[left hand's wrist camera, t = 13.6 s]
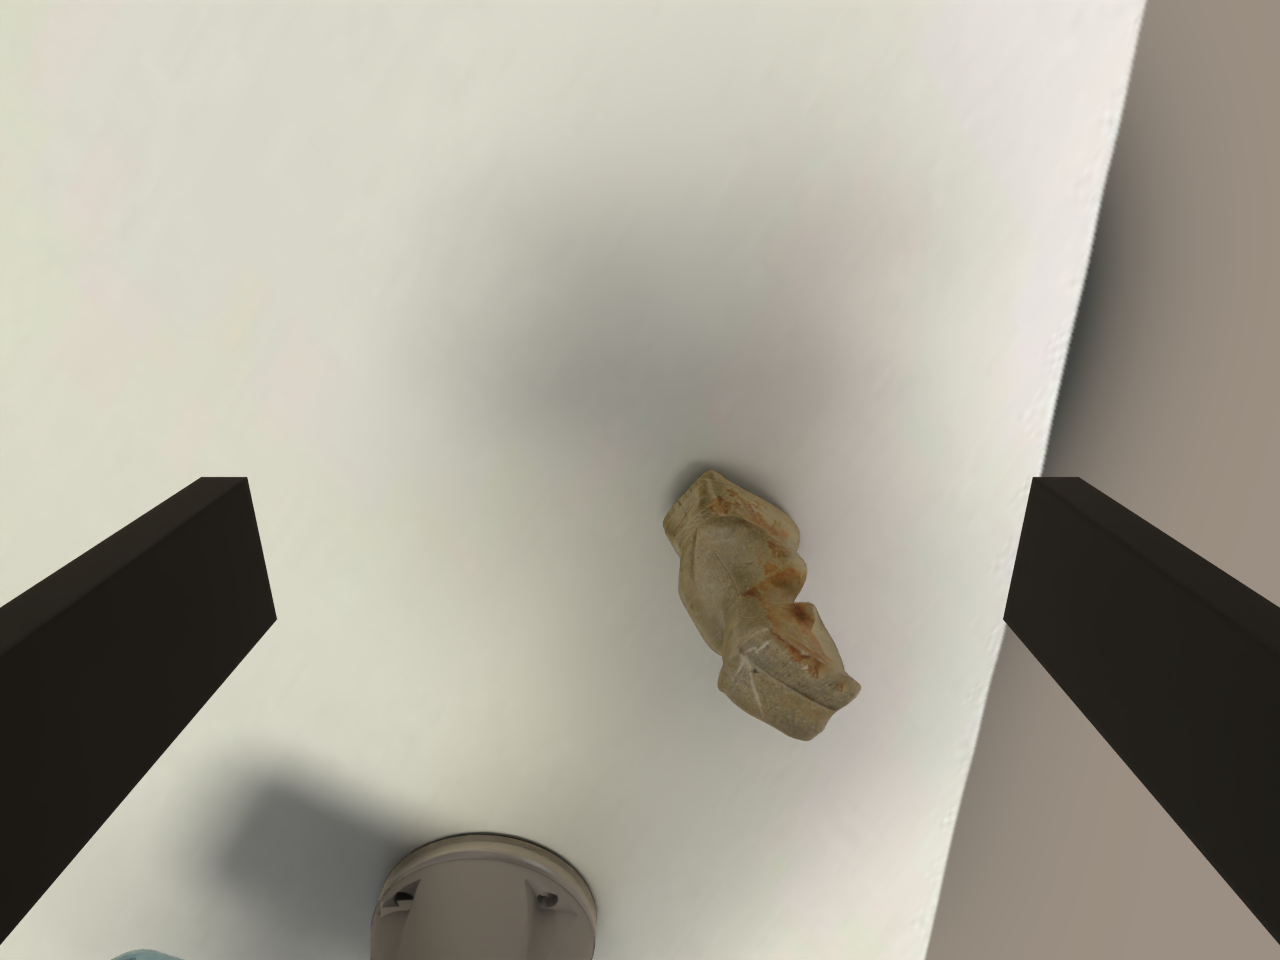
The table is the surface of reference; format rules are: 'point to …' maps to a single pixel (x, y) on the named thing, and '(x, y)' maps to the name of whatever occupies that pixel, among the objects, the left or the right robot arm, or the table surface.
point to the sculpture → (756, 607)
